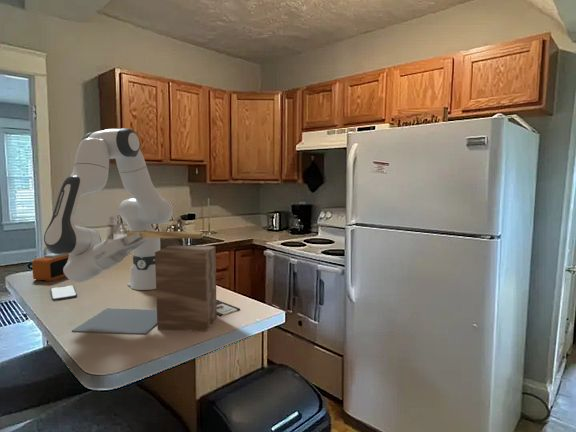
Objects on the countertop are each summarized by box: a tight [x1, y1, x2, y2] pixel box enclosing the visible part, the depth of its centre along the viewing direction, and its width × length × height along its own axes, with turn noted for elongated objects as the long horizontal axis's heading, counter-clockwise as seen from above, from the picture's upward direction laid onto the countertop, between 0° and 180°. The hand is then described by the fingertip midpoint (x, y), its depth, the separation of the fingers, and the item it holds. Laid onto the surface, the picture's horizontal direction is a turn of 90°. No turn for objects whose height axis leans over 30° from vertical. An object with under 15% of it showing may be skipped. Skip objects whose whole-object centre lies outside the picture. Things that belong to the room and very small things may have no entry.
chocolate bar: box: [216, 299, 241, 317], centre depth 142 cm, size 9×1×18 cm
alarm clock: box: [32, 252, 69, 282], centre depth 186 cm, size 24×8×11 cm, turn 170°
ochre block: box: [126, 230, 204, 240], centre depth 124 cm, size 4×24×2 cm, turn 86°
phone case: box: [49, 284, 78, 301], centre depth 157 cm, size 9×2×16 cm
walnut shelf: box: [155, 245, 218, 332], centre depth 125 cm, size 12×16×25 cm
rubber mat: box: [71, 308, 157, 335], centre depth 128 cm, size 20×24×1 cm
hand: (143, 232), depth 124 cm, fingers closed on ochre block, 4 cm apart
